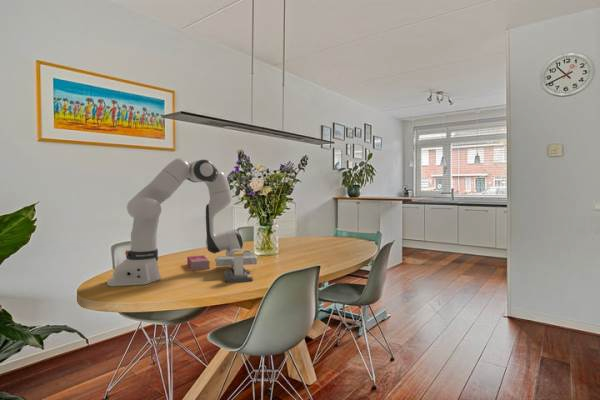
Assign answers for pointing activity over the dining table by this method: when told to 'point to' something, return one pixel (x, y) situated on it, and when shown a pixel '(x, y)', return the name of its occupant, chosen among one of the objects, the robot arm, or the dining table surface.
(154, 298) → the dining table surface
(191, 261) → the maroon box
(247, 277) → the switch bank
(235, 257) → the tab
